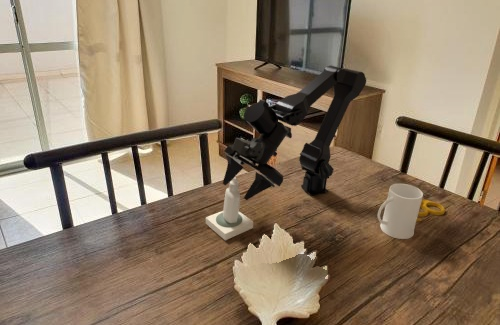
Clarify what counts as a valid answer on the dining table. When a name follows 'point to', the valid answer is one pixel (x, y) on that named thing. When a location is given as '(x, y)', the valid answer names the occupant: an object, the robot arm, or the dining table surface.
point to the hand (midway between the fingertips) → (234, 191)
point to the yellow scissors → (424, 206)
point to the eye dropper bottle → (232, 202)
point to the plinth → (228, 225)
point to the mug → (400, 211)
